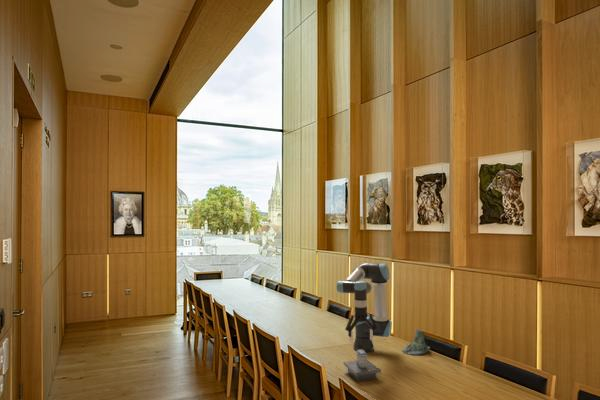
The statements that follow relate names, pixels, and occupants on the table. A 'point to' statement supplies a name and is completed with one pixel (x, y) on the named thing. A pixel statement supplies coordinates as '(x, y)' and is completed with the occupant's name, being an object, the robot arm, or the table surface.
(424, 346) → the tree stump
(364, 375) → the display plinth
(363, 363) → the medicine box
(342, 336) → the table surface
